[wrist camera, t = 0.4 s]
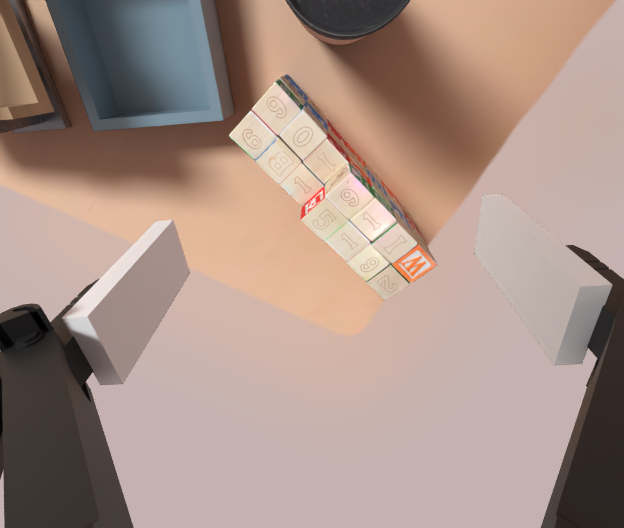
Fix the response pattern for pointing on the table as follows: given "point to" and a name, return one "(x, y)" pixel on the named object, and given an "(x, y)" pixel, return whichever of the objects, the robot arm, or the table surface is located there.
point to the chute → (18, 72)
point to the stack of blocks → (334, 189)
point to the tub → (145, 61)
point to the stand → (59, 116)
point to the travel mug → (345, 17)
